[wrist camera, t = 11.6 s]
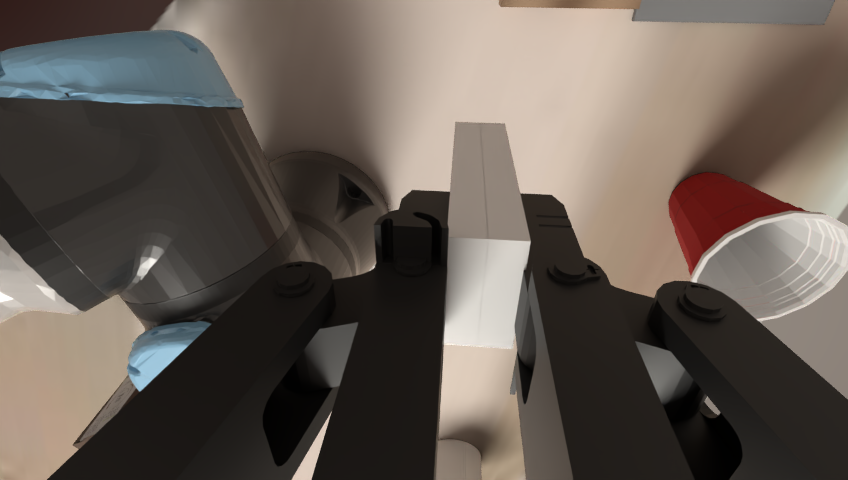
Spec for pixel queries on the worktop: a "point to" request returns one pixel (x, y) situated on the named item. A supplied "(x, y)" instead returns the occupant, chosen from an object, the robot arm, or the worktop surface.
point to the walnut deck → (573, 3)
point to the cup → (457, 461)
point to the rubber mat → (735, 11)
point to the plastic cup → (756, 245)
